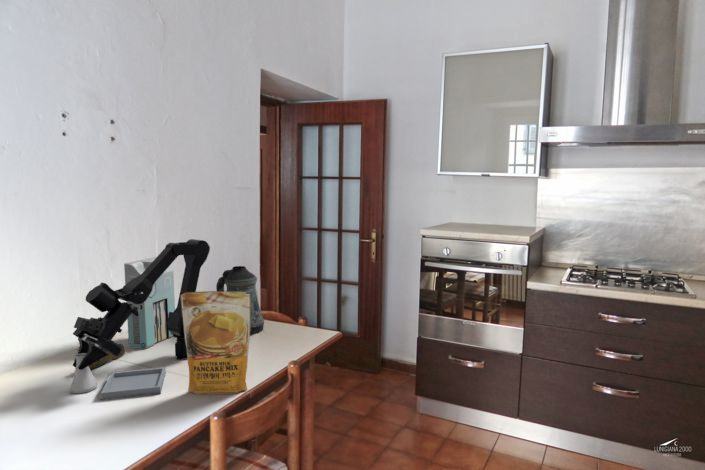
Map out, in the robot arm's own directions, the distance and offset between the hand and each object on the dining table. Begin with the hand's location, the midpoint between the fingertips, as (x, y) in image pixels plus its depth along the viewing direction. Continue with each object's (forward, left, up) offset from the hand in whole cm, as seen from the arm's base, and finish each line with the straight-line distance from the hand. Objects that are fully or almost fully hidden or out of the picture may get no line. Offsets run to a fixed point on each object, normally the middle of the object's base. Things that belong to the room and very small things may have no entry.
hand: (76, 367), depth 141 cm
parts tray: (-15, +1, -7) cm, 17 cm away
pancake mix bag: (-38, +10, -7) cm, 40 cm away
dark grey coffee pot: (-46, -46, -7) cm, 65 cm away
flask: (-1, -1, -7) cm, 7 cm away
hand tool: (-2, -21, -7) cm, 22 cm away
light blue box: (-15, -41, -7) cm, 44 cm away
